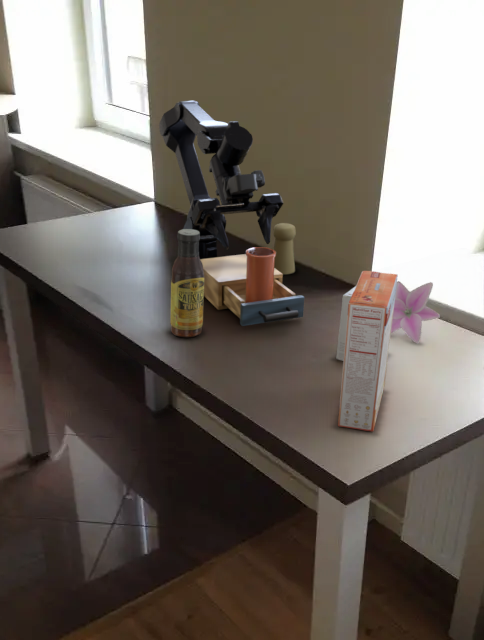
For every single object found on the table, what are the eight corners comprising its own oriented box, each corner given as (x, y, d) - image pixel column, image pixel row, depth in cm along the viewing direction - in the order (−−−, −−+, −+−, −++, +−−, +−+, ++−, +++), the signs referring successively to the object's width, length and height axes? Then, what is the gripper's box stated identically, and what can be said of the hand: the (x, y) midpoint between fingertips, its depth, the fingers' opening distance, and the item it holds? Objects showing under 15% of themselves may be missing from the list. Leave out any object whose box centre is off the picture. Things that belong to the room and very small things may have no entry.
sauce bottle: (178, 341, 140) (176, 238, 130) (165, 329, 145) (162, 229, 135) (209, 335, 143) (210, 234, 133) (196, 323, 147) (195, 225, 138)
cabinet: (281, 301, 159) (282, 273, 156) (218, 310, 154) (218, 282, 151) (253, 278, 170) (254, 252, 167) (193, 286, 165) (193, 260, 162)
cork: (265, 271, 175) (267, 225, 169) (276, 264, 179) (278, 219, 174) (288, 276, 172) (291, 229, 167) (299, 268, 177) (302, 223, 172)
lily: (363, 327, 150) (364, 297, 142) (405, 296, 153) (409, 265, 145) (405, 363, 144) (410, 334, 136) (448, 330, 147) (455, 300, 139)
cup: (238, 302, 152) (239, 250, 147) (260, 296, 156) (262, 245, 150) (256, 311, 148) (258, 258, 143) (279, 305, 152) (282, 252, 146)
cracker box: (348, 386, 126) (361, 268, 116) (384, 391, 124) (400, 273, 114) (334, 427, 114) (347, 300, 104) (373, 433, 113) (390, 305, 102)
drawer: (312, 324, 146) (313, 303, 144) (250, 334, 141) (251, 313, 139) (274, 293, 160) (275, 274, 158) (216, 301, 155) (216, 282, 153)
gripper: (195, 159, 145) (216, 230, 141) (281, 153, 151) (303, 221, 148) (183, 190, 155) (201, 257, 151) (264, 183, 161) (283, 248, 158)
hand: (248, 245), depth 152 cm, fingers open, 9 cm apart
